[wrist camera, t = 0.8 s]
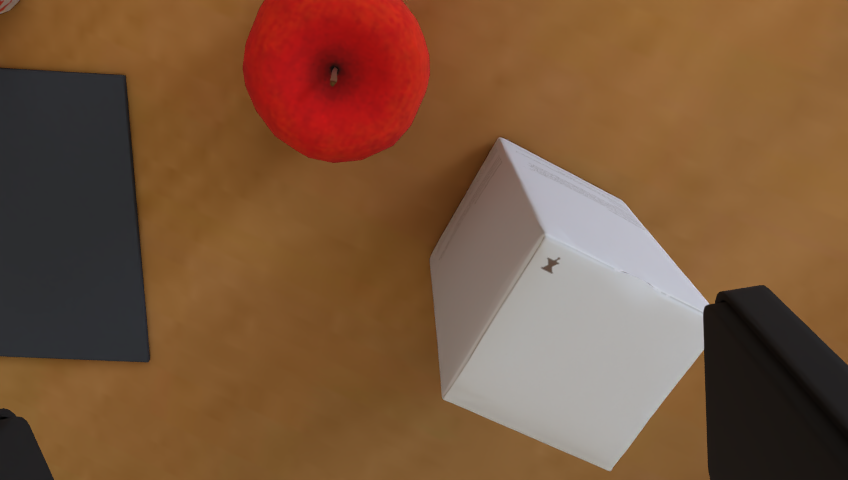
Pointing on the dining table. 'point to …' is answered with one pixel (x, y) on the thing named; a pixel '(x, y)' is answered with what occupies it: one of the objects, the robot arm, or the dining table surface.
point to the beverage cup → (7, 5)
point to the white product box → (558, 309)
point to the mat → (69, 219)
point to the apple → (336, 74)
